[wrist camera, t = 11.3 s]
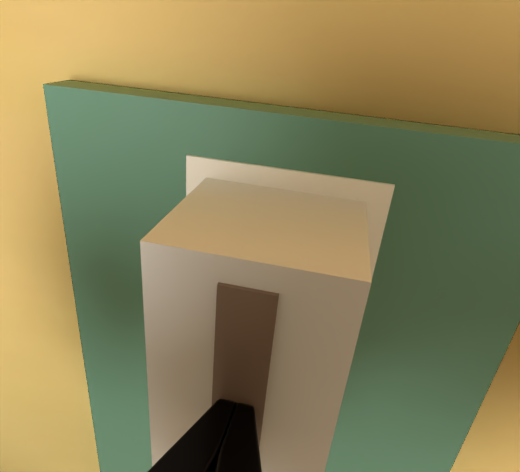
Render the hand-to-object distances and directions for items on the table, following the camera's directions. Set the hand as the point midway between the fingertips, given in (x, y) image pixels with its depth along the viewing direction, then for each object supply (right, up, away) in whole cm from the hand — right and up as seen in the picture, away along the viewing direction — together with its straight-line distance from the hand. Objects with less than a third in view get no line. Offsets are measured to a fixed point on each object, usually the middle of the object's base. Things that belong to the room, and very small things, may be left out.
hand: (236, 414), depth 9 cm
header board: (+1, -1, +7) cm, 7 cm away
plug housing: (+1, +2, +4) cm, 4 cm away
